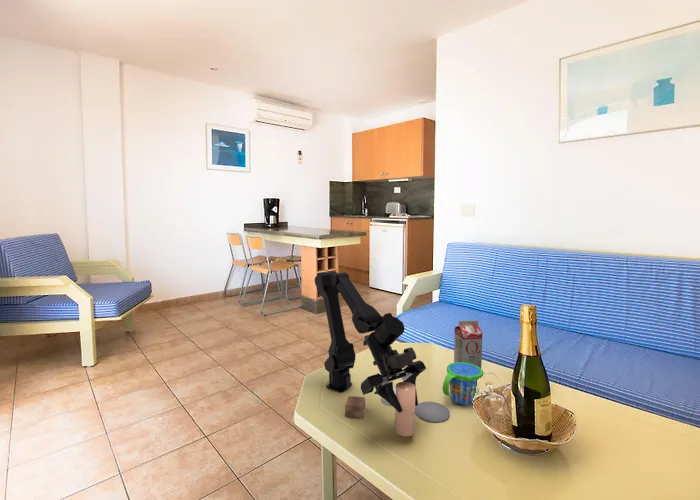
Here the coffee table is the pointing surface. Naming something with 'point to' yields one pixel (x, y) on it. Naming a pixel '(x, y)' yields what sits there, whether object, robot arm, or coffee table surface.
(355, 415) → the walnut block
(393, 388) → the white dome
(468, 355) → the juice carton
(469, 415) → the coffee table surface
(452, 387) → the snack cup
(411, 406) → the pink rounded cylinder
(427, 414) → the coaster
